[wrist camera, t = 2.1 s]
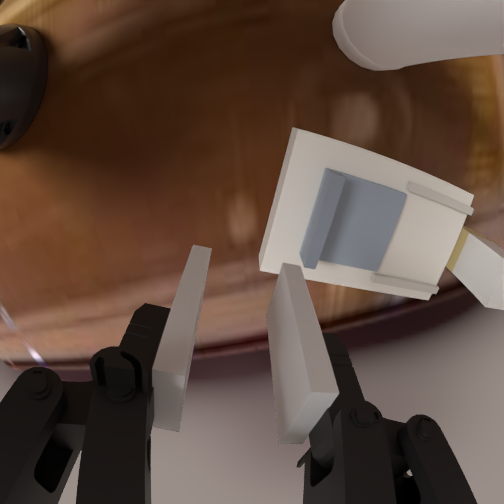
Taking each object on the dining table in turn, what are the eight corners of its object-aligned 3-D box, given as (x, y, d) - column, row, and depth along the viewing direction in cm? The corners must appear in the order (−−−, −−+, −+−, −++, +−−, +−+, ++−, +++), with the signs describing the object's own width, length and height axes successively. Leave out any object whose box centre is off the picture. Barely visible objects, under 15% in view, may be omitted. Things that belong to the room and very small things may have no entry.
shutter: (299, 253, 27) (304, 267, 25) (325, 167, 24) (333, 173, 21) (374, 268, 28) (384, 282, 26) (404, 192, 25) (418, 201, 22)
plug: (439, 260, 31) (485, 307, 22) (455, 222, 29) (508, 262, 20) (463, 267, 32) (508, 310, 23) (479, 232, 30) (529, 270, 21)
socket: (258, 255, 31) (260, 274, 27) (292, 127, 25) (299, 129, 22) (417, 286, 33) (431, 303, 30) (458, 187, 27) (478, 197, 24)
